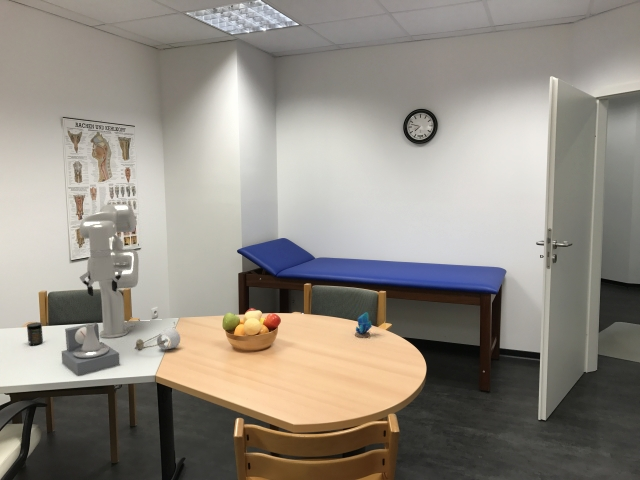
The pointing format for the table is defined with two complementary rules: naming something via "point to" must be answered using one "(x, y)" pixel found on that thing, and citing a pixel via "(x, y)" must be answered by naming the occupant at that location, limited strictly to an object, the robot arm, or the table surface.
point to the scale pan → (82, 354)
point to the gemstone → (363, 326)
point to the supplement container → (35, 334)
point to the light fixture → (168, 332)
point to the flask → (90, 340)
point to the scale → (86, 365)
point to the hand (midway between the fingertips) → (102, 293)
